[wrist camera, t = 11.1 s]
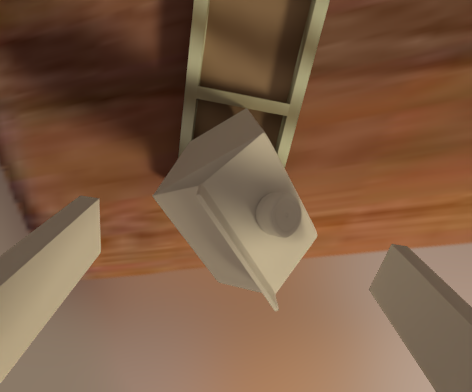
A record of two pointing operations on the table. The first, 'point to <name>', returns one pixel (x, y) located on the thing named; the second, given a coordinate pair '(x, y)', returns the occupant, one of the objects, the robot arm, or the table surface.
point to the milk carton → (238, 207)
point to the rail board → (250, 65)
